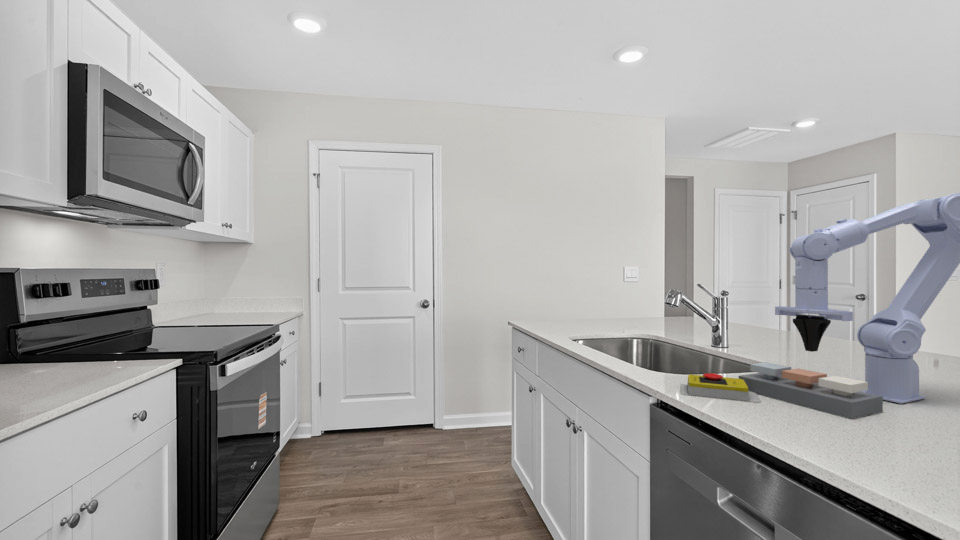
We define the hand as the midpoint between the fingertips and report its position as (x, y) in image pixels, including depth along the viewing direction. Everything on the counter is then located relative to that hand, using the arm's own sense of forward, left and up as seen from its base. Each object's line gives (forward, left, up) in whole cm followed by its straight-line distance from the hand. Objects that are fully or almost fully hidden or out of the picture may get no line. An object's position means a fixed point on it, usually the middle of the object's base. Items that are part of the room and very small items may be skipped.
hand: (811, 350), depth 95 cm
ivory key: (+6, +9, -8) cm, 14 cm away
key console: (+6, +2, -9) cm, 11 cm away
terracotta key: (+6, +2, -8) cm, 10 cm away
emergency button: (+18, -9, -10) cm, 23 cm away
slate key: (+6, -5, -8) cm, 11 cm away
